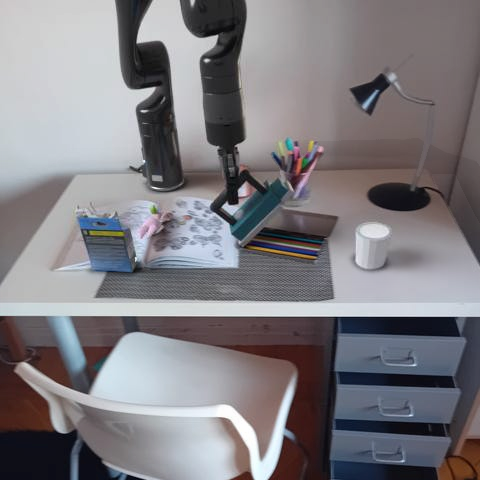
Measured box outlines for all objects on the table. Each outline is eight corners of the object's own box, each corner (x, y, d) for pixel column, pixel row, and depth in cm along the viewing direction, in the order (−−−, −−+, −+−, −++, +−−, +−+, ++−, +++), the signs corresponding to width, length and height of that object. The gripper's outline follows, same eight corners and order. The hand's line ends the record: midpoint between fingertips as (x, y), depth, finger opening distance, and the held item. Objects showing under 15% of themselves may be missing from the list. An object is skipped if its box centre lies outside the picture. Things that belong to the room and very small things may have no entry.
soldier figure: (96, 213, 123) (130, 207, 117) (93, 232, 123) (128, 227, 116) (70, 202, 117) (104, 195, 110) (67, 222, 116) (101, 216, 110)
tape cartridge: (139, 262, 104) (127, 208, 96) (132, 273, 101) (119, 218, 93) (99, 260, 105) (84, 207, 97) (91, 270, 102) (75, 216, 94)
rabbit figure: (150, 221, 120) (131, 245, 107) (147, 196, 117) (126, 218, 104) (176, 221, 119) (159, 246, 106) (173, 196, 116) (156, 219, 103)
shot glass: (375, 248, 103) (379, 218, 98) (394, 265, 98) (400, 234, 93) (345, 256, 101) (348, 226, 97) (364, 274, 96) (368, 243, 92)
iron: (243, 247, 106) (205, 219, 101) (239, 231, 111) (203, 203, 106) (295, 196, 100) (259, 163, 94) (289, 181, 105) (253, 148, 100)
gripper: (202, 105, 97) (212, 189, 108) (206, 129, 86) (217, 219, 97) (240, 100, 97) (246, 184, 108) (249, 124, 86) (255, 214, 97)
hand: (232, 201), depth 103 cm, fingers closed on iron, 2 cm apart
